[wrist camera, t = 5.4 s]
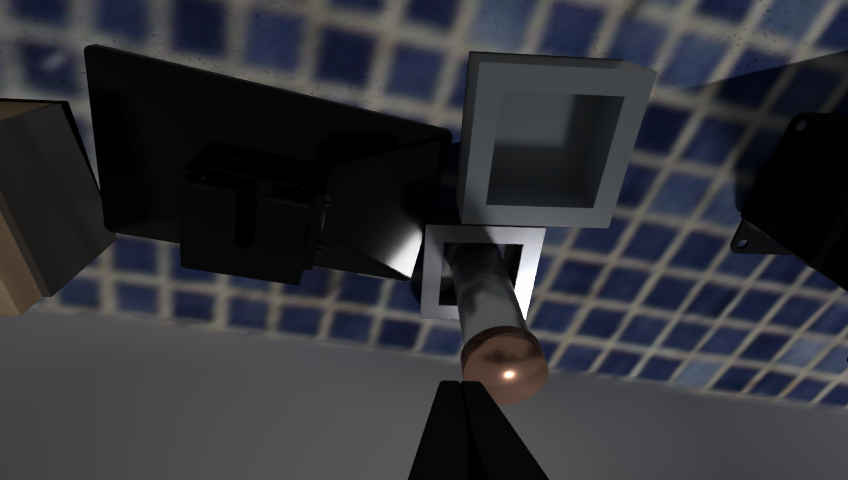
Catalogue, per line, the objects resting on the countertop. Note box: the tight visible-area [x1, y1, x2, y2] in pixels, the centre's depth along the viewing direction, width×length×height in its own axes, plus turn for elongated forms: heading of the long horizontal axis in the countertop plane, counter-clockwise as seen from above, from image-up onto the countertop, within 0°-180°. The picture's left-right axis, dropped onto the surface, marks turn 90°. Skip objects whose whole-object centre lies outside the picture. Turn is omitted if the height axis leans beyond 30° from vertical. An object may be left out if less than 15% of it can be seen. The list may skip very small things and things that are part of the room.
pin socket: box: [419, 214, 546, 319], centre depth 20 cm, size 5×5×1 cm
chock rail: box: [0, 98, 117, 316], centre depth 15 cm, size 3×6×5 cm, turn 177°
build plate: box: [84, 44, 452, 286], centre depth 15 cm, size 12×7×5 cm, turn 75°
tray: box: [455, 51, 657, 228], centre depth 16 cm, size 6×6×2 cm
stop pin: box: [451, 243, 548, 405], centre depth 17 cm, size 3×3×7 cm
